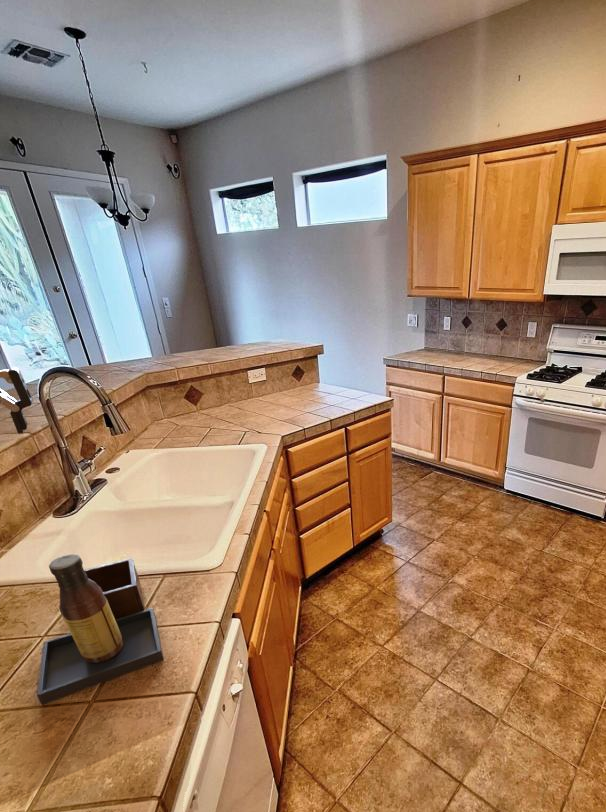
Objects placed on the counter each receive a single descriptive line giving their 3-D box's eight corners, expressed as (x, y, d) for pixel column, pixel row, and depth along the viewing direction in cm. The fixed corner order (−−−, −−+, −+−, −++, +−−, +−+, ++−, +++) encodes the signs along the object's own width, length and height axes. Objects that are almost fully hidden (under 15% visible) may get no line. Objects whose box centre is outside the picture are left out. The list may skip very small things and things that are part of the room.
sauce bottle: (103, 636, 79) (68, 545, 70) (133, 641, 78) (101, 550, 69) (72, 663, 73) (30, 568, 64) (103, 669, 72) (65, 573, 63)
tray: (41, 705, 67) (36, 695, 66) (47, 650, 77) (43, 641, 76) (163, 659, 75) (161, 650, 74) (155, 615, 85) (152, 607, 84)
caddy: (84, 632, 81) (73, 603, 78) (85, 599, 89) (74, 572, 86) (145, 613, 86) (136, 585, 83) (140, 584, 94) (132, 557, 91)
